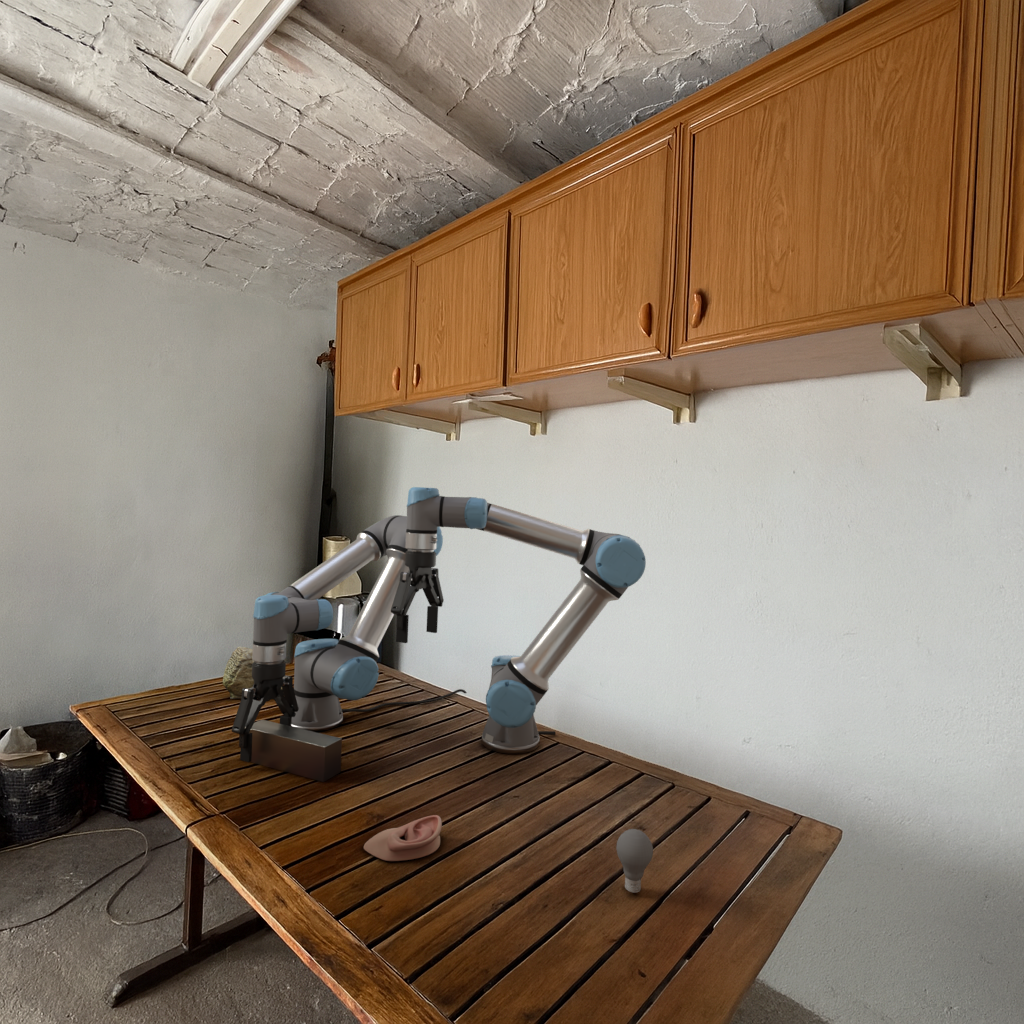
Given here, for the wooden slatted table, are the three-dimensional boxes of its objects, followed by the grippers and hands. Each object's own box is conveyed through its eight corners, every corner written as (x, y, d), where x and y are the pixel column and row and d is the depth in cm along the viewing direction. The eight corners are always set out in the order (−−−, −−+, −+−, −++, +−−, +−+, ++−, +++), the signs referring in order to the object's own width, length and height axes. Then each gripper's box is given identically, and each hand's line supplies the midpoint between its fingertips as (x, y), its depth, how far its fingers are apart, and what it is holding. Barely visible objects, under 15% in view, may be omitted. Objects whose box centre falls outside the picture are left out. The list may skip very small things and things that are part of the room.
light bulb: (610, 879, 108) (613, 822, 108) (644, 879, 109) (647, 822, 109) (619, 902, 102) (622, 840, 102) (655, 901, 103) (658, 840, 103)
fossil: (218, 695, 195) (220, 647, 195) (278, 685, 208) (279, 640, 207) (228, 703, 189) (230, 653, 188) (289, 692, 201) (290, 645, 201)
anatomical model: (356, 833, 112) (382, 804, 123) (355, 856, 112) (381, 824, 123) (428, 845, 109) (448, 813, 121) (427, 868, 109) (447, 834, 121)
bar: (241, 759, 150) (243, 726, 150) (261, 751, 156) (262, 719, 156) (323, 782, 141) (324, 747, 140) (340, 772, 146) (342, 738, 146)
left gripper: (241, 674, 138) (237, 773, 139) (315, 652, 160) (312, 738, 161) (216, 669, 141) (212, 766, 142) (292, 648, 163) (289, 732, 164)
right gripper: (405, 554, 142) (401, 649, 142) (458, 548, 164) (455, 630, 165) (377, 552, 145) (374, 644, 145) (433, 546, 167) (430, 626, 168)
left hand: (265, 751), depth 151 cm, fingers open, 11 cm apart
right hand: (417, 637), depth 155 cm, fingers open, 13 cm apart
